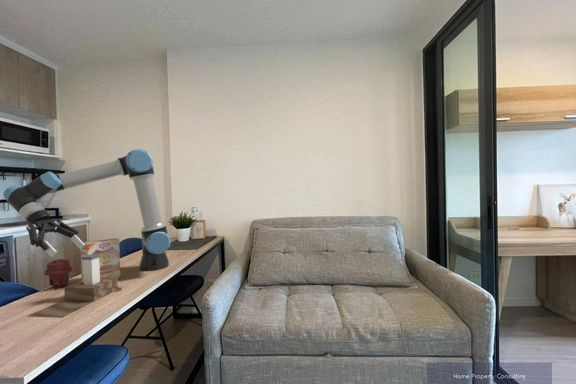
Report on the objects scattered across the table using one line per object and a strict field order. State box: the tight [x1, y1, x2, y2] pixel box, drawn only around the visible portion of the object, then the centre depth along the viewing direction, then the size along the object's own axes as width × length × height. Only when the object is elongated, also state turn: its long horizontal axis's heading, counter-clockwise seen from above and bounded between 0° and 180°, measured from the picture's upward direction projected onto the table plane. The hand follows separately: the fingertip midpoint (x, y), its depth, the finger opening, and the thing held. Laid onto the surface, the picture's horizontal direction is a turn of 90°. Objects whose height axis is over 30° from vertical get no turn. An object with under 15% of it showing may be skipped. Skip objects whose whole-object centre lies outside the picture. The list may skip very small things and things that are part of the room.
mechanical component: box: [44, 258, 73, 290], centre depth 134 cm, size 12×10×10 cm
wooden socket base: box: [26, 277, 123, 319], centre depth 114 cm, size 29×14×6 cm, turn 173°
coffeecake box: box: [80, 237, 121, 281], centre depth 143 cm, size 15×7×20 cm, turn 150°
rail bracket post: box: [80, 255, 100, 285], centre depth 121 cm, size 5×5×16 cm
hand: (69, 250), depth 121 cm, fingers open, 13 cm apart
